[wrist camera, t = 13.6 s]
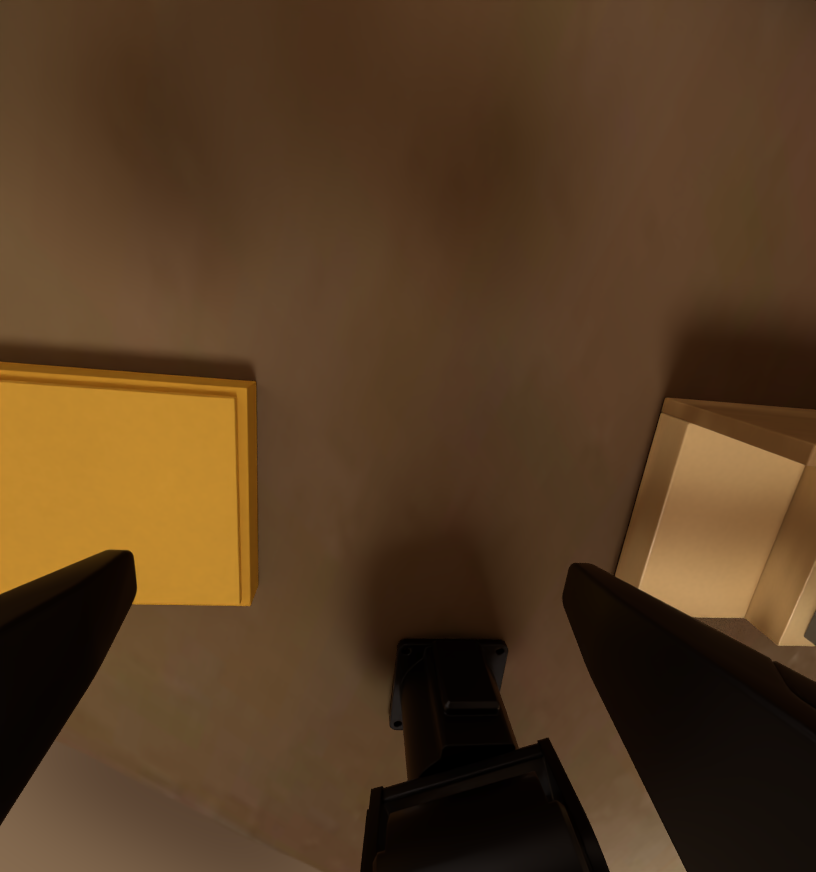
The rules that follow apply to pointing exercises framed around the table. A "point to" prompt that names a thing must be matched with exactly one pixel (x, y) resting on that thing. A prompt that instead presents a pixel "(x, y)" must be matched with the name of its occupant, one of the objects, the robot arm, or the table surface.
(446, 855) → the robot arm
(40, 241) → the table surface
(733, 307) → the table surface
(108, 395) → the cushion
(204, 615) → the table surface
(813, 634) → the remote
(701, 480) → the stepped shelf
